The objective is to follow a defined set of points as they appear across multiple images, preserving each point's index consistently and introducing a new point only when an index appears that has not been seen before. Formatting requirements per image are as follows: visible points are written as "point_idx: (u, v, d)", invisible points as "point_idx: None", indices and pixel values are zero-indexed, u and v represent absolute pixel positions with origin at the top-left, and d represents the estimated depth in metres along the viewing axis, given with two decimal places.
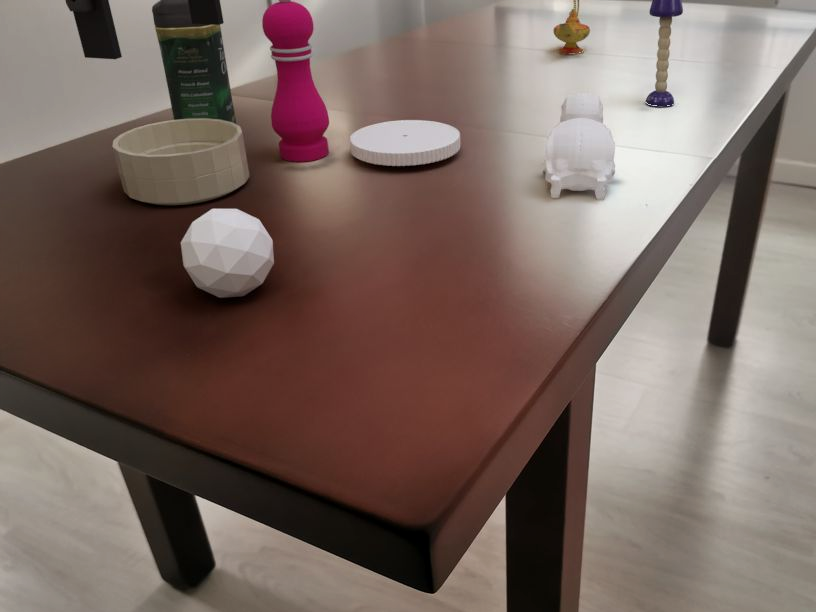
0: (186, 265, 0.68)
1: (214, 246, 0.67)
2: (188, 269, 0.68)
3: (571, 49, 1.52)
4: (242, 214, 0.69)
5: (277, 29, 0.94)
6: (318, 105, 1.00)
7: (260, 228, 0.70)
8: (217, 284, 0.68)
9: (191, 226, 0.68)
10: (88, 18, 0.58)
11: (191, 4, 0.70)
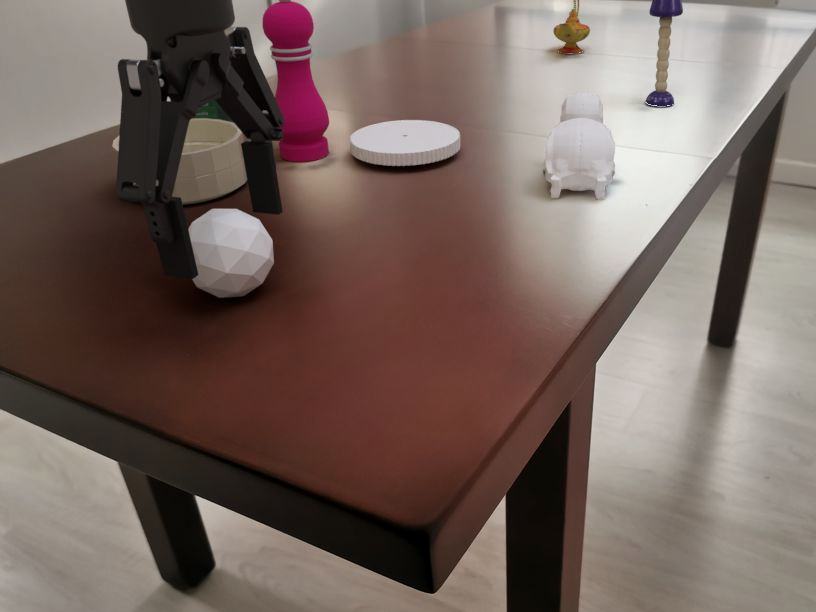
0: None
1: (214, 246, 0.67)
2: None
3: (571, 49, 1.52)
4: (242, 214, 0.69)
5: (277, 29, 0.94)
6: (318, 105, 1.00)
7: (260, 228, 0.70)
8: (217, 284, 0.68)
9: (191, 226, 0.68)
10: (169, 245, 0.63)
11: (253, 196, 0.74)
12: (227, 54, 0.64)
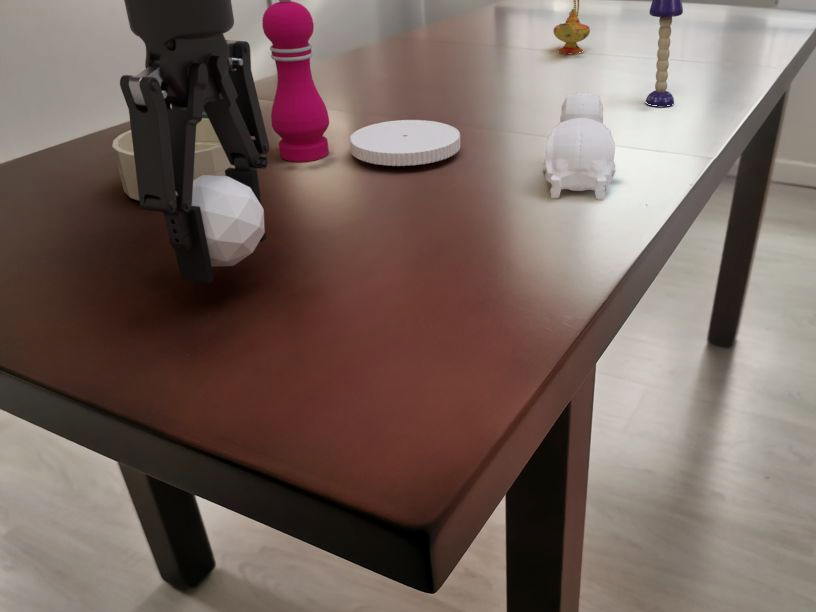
0: None
1: (203, 212, 0.65)
2: None
3: (571, 49, 1.52)
4: (232, 181, 0.68)
5: (277, 29, 0.94)
6: (318, 105, 1.00)
7: (251, 196, 0.68)
8: None
9: None
10: (187, 251, 0.66)
11: None
12: (225, 56, 0.64)
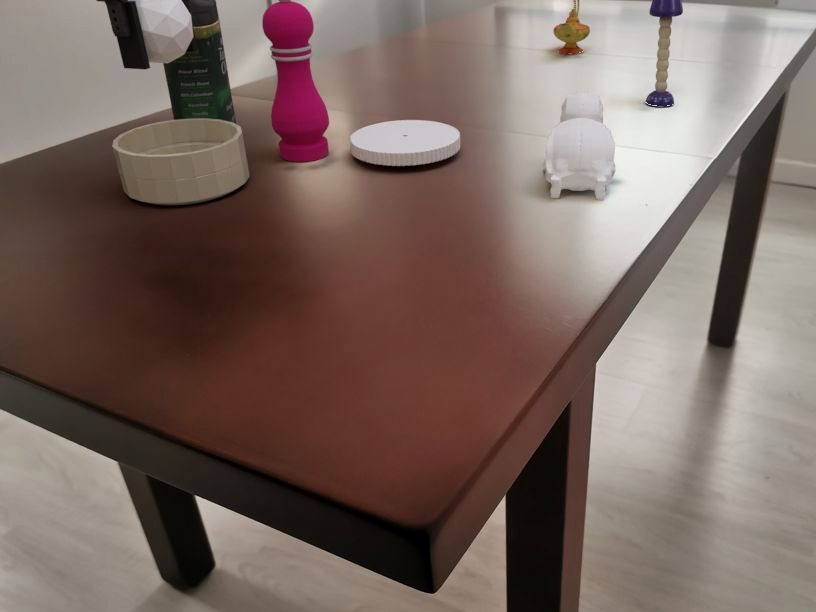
0: None
1: (139, 8, 0.82)
2: None
3: (571, 49, 1.52)
4: None
5: (277, 29, 0.94)
6: (318, 105, 1.00)
7: (180, 2, 0.85)
8: None
9: None
10: (127, 41, 0.83)
11: None
12: None
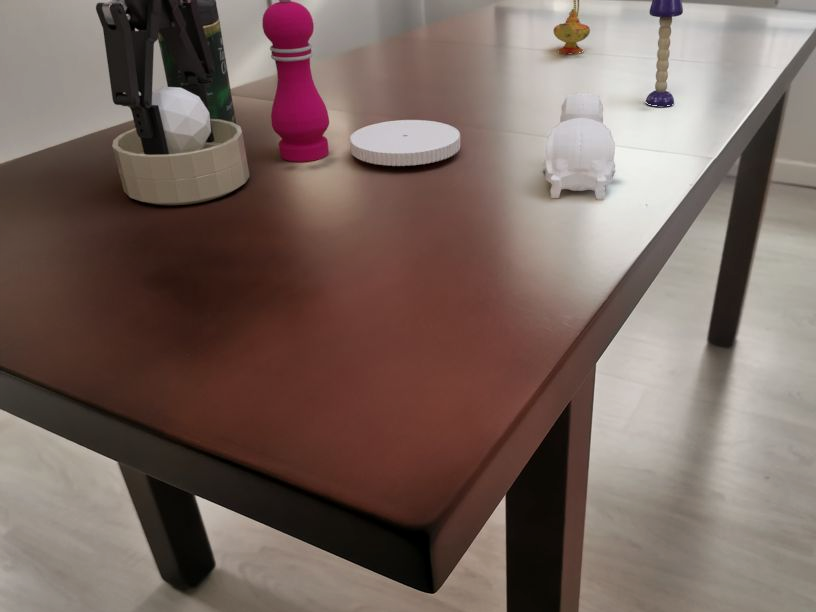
0: None
1: (161, 111, 0.88)
2: None
3: (571, 49, 1.52)
4: (184, 90, 0.90)
5: (277, 29, 0.94)
6: (318, 105, 1.00)
7: (199, 101, 0.91)
8: None
9: None
10: (150, 140, 0.88)
11: None
12: None
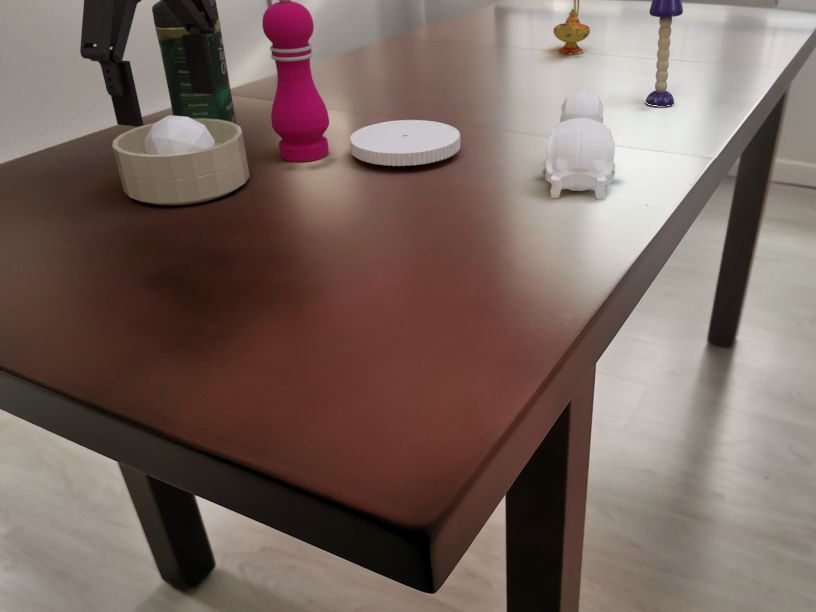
0: None
1: (168, 140, 0.89)
2: None
3: (571, 49, 1.52)
4: (190, 119, 0.92)
5: (277, 29, 0.94)
6: (318, 105, 1.00)
7: (204, 130, 0.92)
8: None
9: (152, 127, 0.91)
10: (121, 99, 0.84)
11: (192, 79, 0.95)
12: None
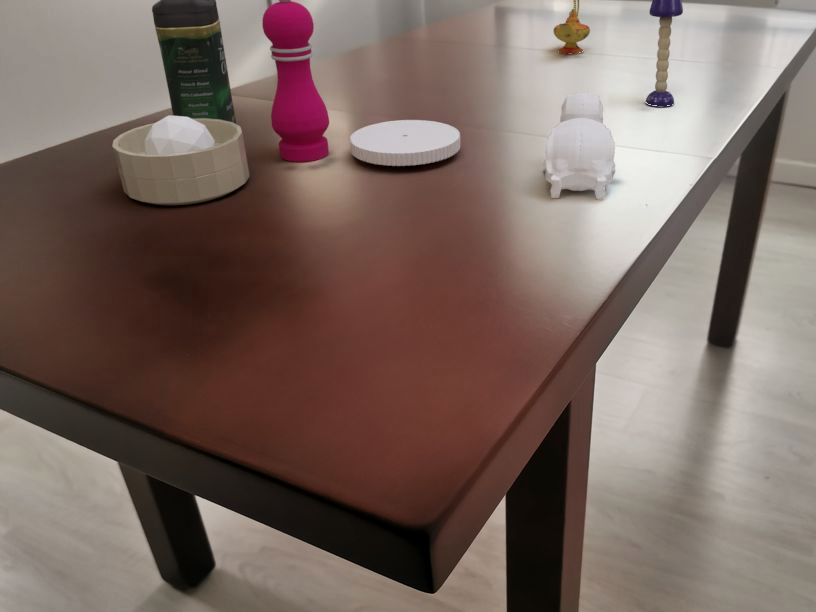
0: None
1: (168, 140, 0.89)
2: None
3: (571, 49, 1.52)
4: (190, 119, 0.92)
5: (277, 29, 0.94)
6: (318, 105, 1.00)
7: (204, 130, 0.92)
8: None
9: (152, 127, 0.91)
10: None
11: None
12: None
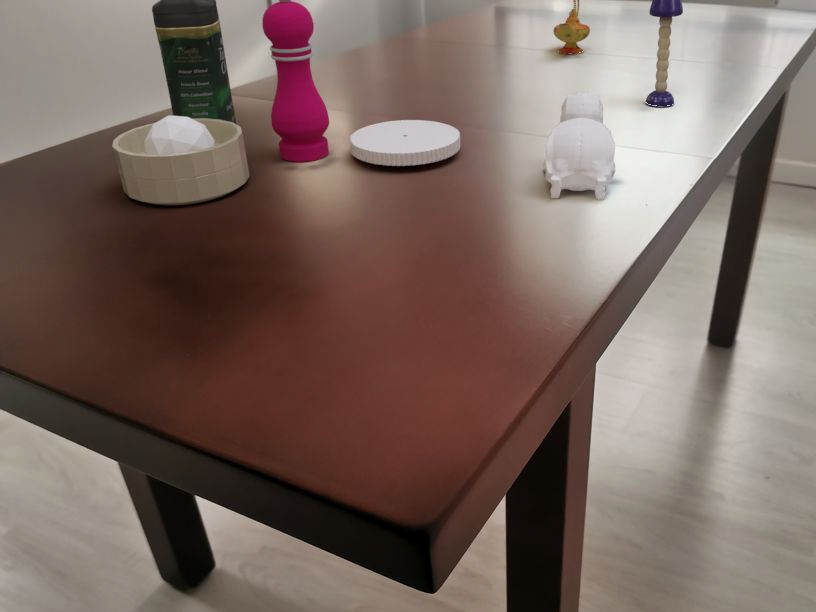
0: None
1: (168, 140, 0.89)
2: None
3: (571, 49, 1.52)
4: (190, 119, 0.92)
5: (277, 29, 0.94)
6: (318, 105, 1.00)
7: (204, 130, 0.92)
8: None
9: (152, 127, 0.91)
10: None
11: None
12: None
